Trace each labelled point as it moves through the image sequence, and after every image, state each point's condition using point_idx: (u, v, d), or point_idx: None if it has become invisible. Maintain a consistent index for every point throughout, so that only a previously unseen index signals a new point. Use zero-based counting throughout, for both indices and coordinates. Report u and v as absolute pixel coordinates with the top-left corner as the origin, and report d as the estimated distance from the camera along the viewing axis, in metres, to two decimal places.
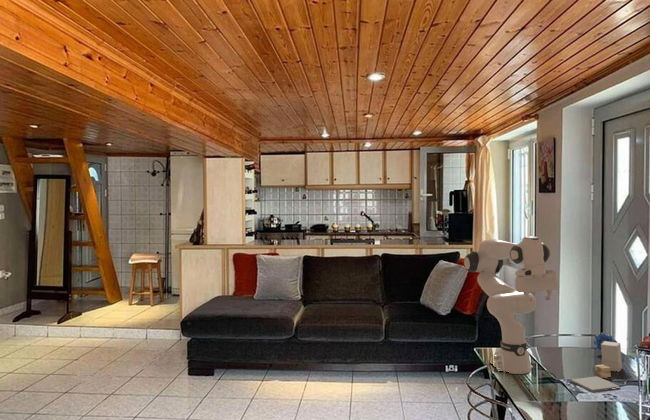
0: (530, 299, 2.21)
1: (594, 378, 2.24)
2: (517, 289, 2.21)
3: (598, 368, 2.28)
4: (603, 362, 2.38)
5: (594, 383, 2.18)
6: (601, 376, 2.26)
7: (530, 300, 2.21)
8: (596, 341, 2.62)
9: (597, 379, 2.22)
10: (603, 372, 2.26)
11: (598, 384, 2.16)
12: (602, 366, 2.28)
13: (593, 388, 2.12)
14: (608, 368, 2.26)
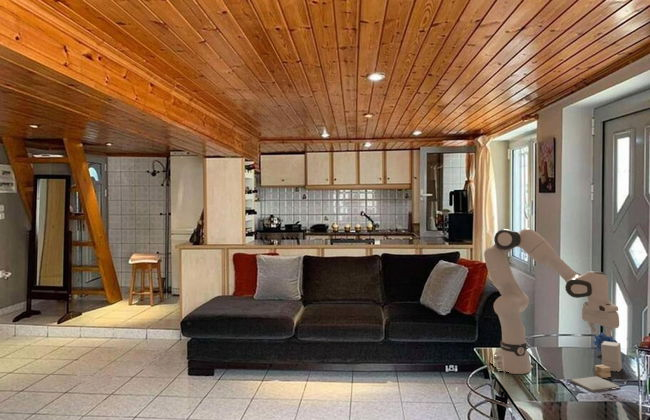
0: None
1: (594, 378, 2.24)
2: (615, 325, 2.19)
3: (598, 368, 2.28)
4: (603, 362, 2.38)
5: (594, 383, 2.18)
6: (601, 376, 2.26)
7: None
8: (596, 341, 2.62)
9: (597, 379, 2.22)
10: (603, 372, 2.26)
11: (598, 384, 2.16)
12: (602, 366, 2.28)
13: (593, 388, 2.12)
14: (608, 368, 2.26)
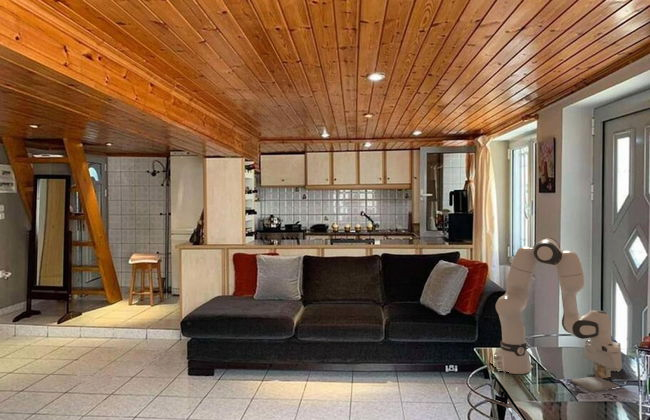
0: None
1: (594, 378, 2.24)
2: (618, 366, 2.19)
3: (598, 368, 2.28)
4: None
5: (594, 383, 2.18)
6: (601, 376, 2.26)
7: None
8: None
9: (597, 379, 2.22)
10: (603, 372, 2.26)
11: (598, 384, 2.16)
12: (602, 366, 2.28)
13: (593, 388, 2.12)
14: None
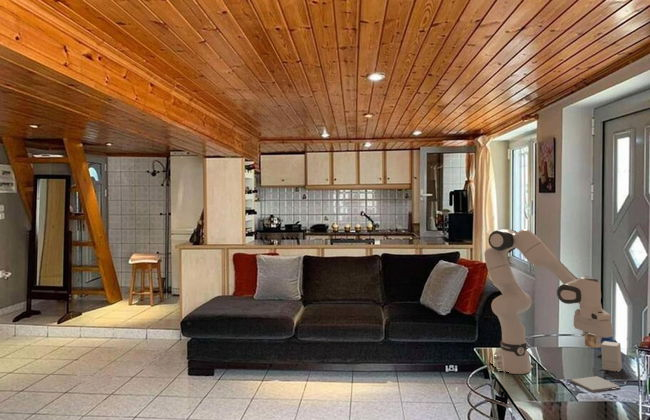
0: None
1: (594, 378, 2.24)
2: (608, 334, 2.10)
3: (588, 337, 2.19)
4: (603, 362, 2.38)
5: (594, 383, 2.18)
6: (591, 345, 2.17)
7: None
8: None
9: (597, 379, 2.22)
10: (593, 341, 2.17)
11: (598, 384, 2.16)
12: (592, 335, 2.19)
13: (593, 388, 2.12)
14: None
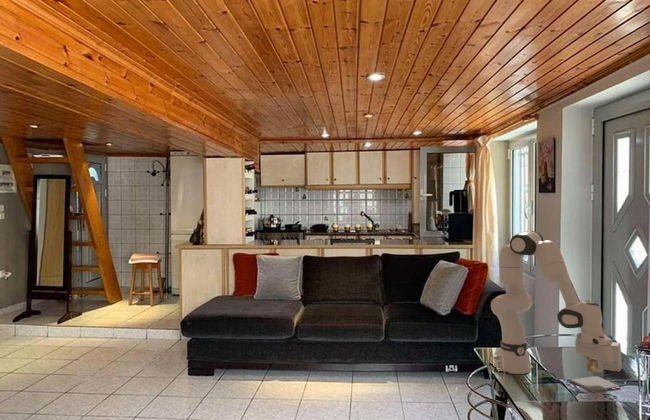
0: None
1: (594, 378, 2.24)
2: (610, 360, 2.09)
3: (590, 362, 2.18)
4: None
5: (594, 383, 2.18)
6: (593, 370, 2.16)
7: None
8: None
9: (597, 379, 2.22)
10: (595, 366, 2.16)
11: (598, 384, 2.16)
12: (594, 360, 2.18)
13: (593, 388, 2.12)
14: None
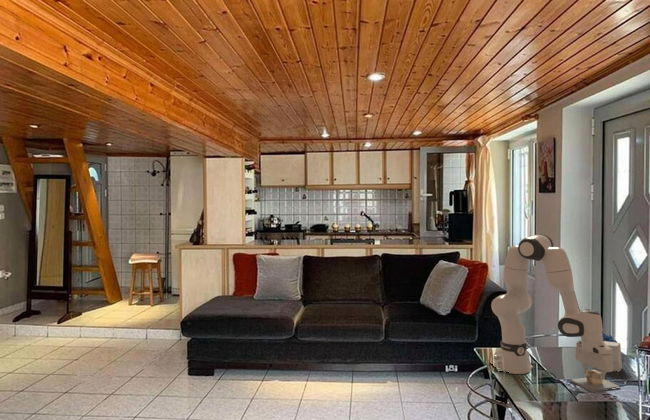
0: None
1: None
2: (609, 369, 2.09)
3: (589, 373, 2.18)
4: None
5: None
6: (592, 382, 2.17)
7: None
8: None
9: None
10: (595, 378, 2.16)
11: (598, 384, 2.16)
12: (594, 372, 2.18)
13: (593, 388, 2.12)
14: (600, 373, 2.17)
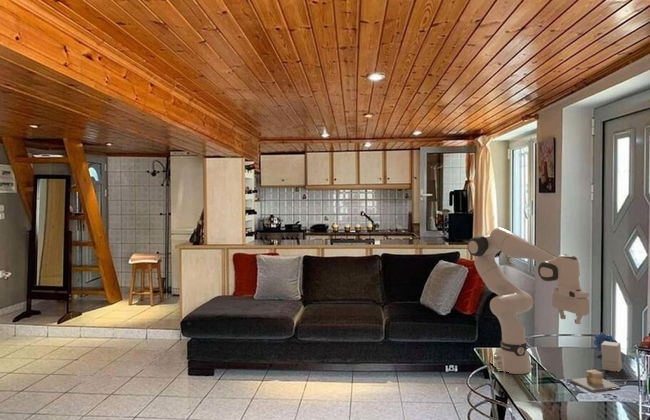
0: None
1: None
2: (585, 312, 2.07)
3: (589, 373, 2.18)
4: (603, 362, 2.38)
5: None
6: (592, 382, 2.17)
7: None
8: (596, 341, 2.62)
9: None
10: (595, 378, 2.16)
11: (598, 384, 2.16)
12: (594, 372, 2.18)
13: (593, 388, 2.12)
14: (600, 373, 2.17)
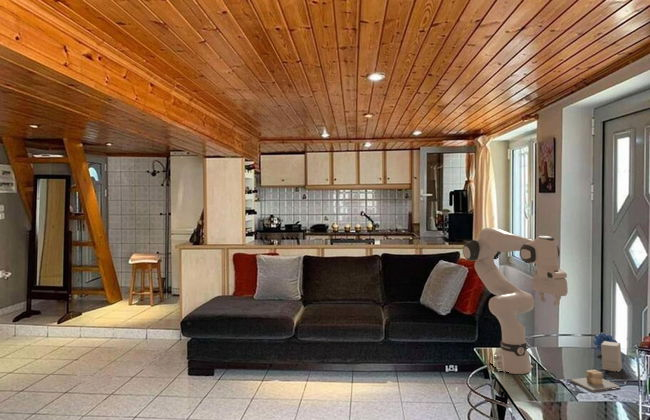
0: None
1: None
2: (563, 293, 2.05)
3: (589, 373, 2.18)
4: (603, 362, 2.38)
5: None
6: (592, 382, 2.17)
7: None
8: (596, 341, 2.62)
9: None
10: (595, 378, 2.16)
11: (598, 384, 2.16)
12: (594, 372, 2.18)
13: (593, 388, 2.12)
14: (600, 373, 2.17)
